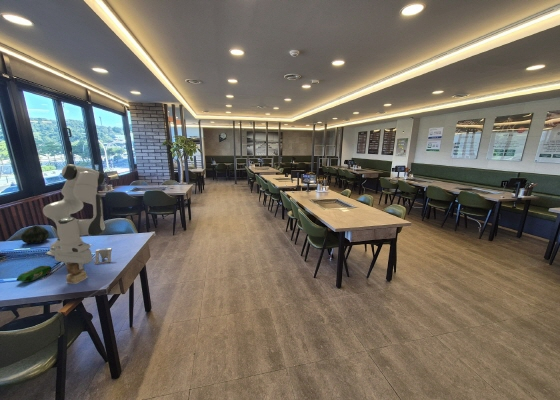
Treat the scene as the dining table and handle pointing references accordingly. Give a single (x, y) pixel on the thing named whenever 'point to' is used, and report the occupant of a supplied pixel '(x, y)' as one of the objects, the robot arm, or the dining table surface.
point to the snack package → (34, 274)
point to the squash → (35, 234)
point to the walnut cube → (73, 268)
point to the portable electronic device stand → (103, 255)
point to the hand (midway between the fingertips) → (75, 268)
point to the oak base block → (76, 277)
